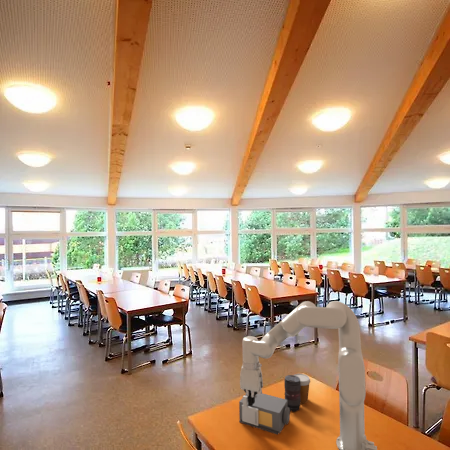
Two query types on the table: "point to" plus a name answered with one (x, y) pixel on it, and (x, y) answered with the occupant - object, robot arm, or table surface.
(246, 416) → the hatch
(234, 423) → the table surface
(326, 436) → the table surface
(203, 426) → the table surface
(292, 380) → the camera lens
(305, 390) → the disposable coffee cup
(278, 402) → the housing
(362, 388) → the robot arm
